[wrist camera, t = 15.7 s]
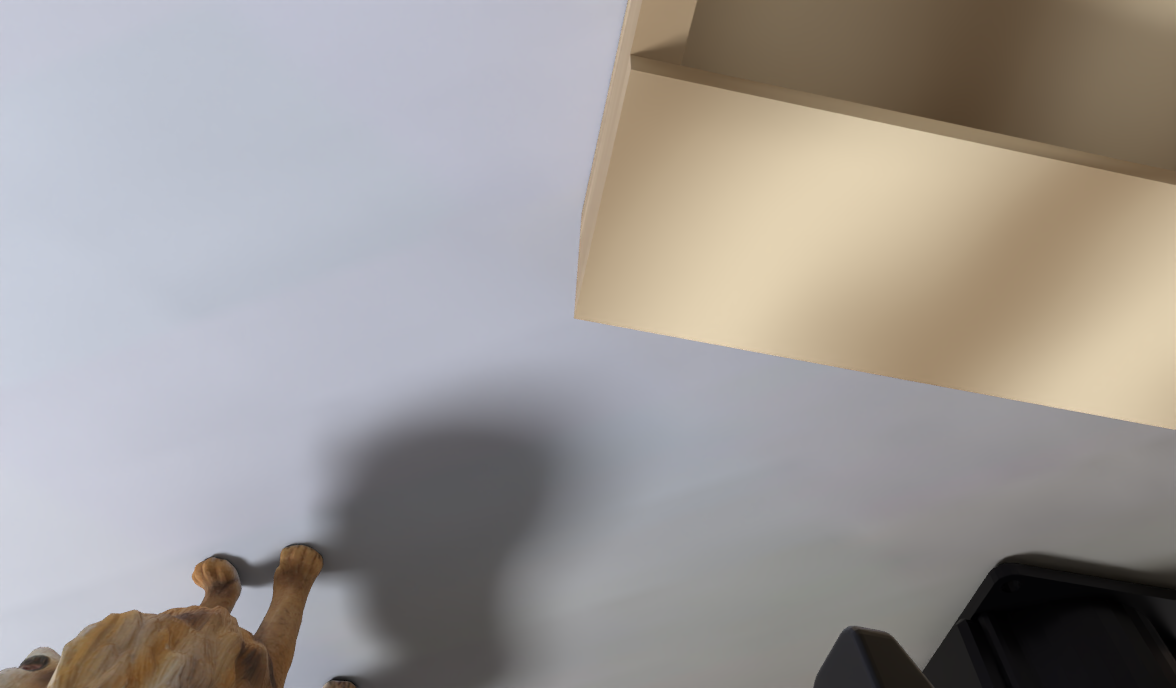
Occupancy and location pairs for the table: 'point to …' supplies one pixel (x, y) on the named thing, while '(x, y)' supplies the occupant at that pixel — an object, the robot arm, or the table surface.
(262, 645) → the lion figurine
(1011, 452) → the table surface
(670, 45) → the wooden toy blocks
